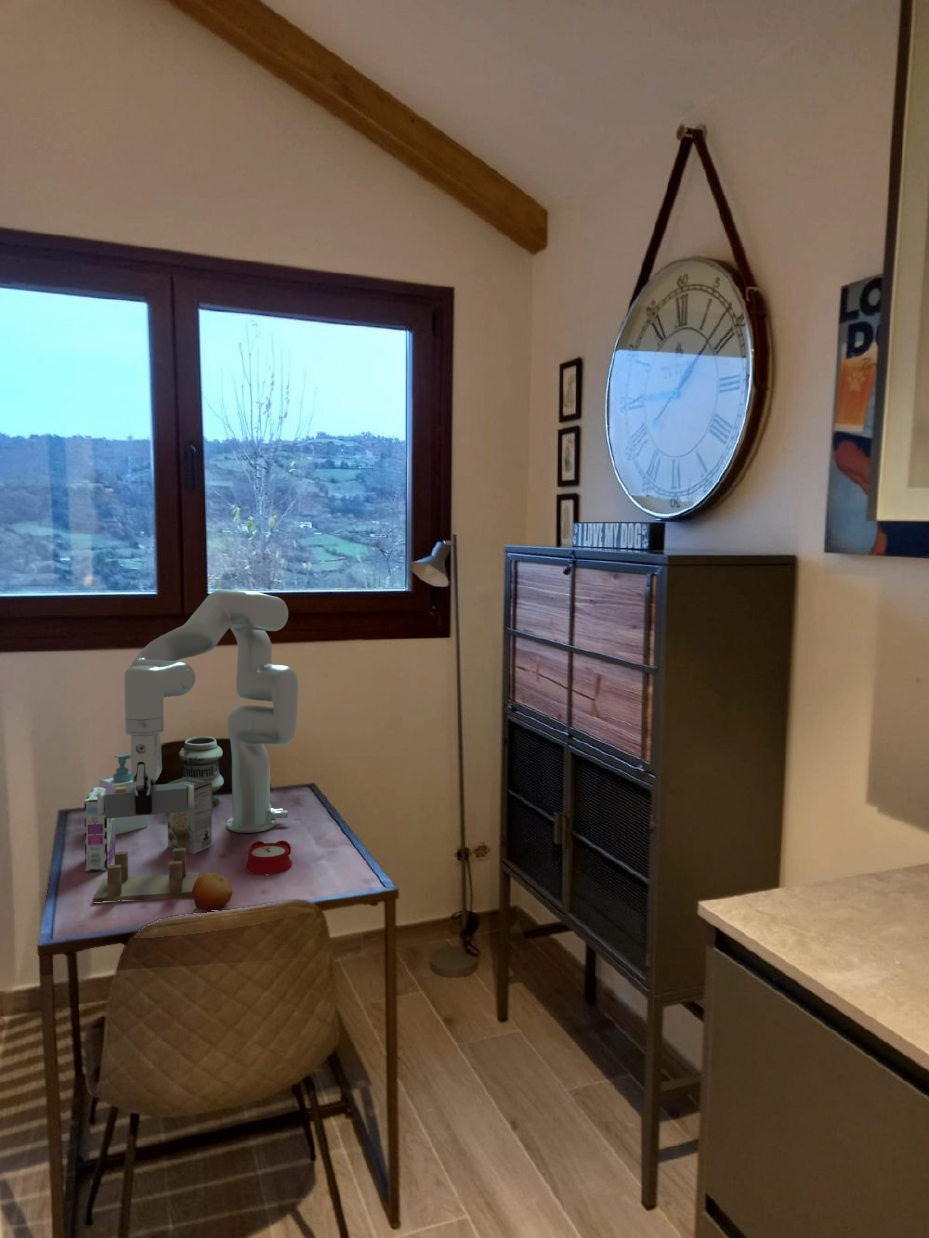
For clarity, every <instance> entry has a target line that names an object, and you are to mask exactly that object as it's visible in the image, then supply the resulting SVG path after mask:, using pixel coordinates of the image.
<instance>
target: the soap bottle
mask: <svg viewBox="0 0 929 1238" xmlns="http://www.w3.org/2000/svg"><path fill="white" fill-rule="evenodd" d="M113 757H114V758H118V759H117V760H118V761H117V762H118V764H119V766H118V767H117V768H116V769H115V771H116V772H115V773H113V775H109V776H105V777H99V779H98V785H99V786H98V787H115V788H116V787H136V782H133V781H132V778H131V771H130V770H129V767H128V766H126V765H125V764H126V763H127V760H130V759H131V752H129V753H123V754H118V755H113ZM144 779H145V778H144ZM145 828H148V815H142V816H131V817H119V818H115V836H117V835H120V834H125V833H128V832H129V833H130V832H132V831H137V830H140V829H145Z"/></svg>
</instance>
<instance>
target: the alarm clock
mask: <svg viewBox="0 0 929 1238" xmlns="http://www.w3.org/2000/svg"><path fill="white" fill-rule="evenodd" d="M291 853H292V847H291V844H290V843H289V842H288V841H286V840H278V841H277V842H266V843H265V842H264V841H261V840H257V841H255V842H253V843H252V844H251V845H250V846H249V849H248V850H247V860H246V862H245V864H244V869H245V870H246V872H249V873H251V874H255V875H264V876H265V875H266V874H269V875H275V874H279V873H284V872H285V871H286V870H289V869H290V868H291V867H292V866H293V865H292V864H293V863H292V860H291V858H290V855H291Z"/></svg>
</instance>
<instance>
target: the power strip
mask: <svg viewBox="0 0 929 1238" xmlns="http://www.w3.org/2000/svg"><path fill="white" fill-rule="evenodd" d="M146 787H147V786H146ZM135 793H136V787H116V788H112V789H106V792H105V793H104V792H99V793H98V795H97V813H98V816H105V817H106V819H108V818H119V817H131V816H142V815H147V816H150V815H152V816H153V815H161V814H162V815H163V814H168V813H175V812H186V811H187V786H186V783H175V784H167V783H165V784H164V783H163V784H155V785H150V795H152V813H151V814H140V815H137V814H136V813H135ZM188 808H194V785H188Z"/></svg>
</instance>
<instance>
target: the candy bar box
mask: <svg viewBox="0 0 929 1238" xmlns="http://www.w3.org/2000/svg"><path fill="white" fill-rule="evenodd" d="M112 788H115V787H99V786H98V787H92V790H91V791H90V793H89V794H88V795H87V796H86V798H85V799H84V805H83V806H84V810H83V811H84V861H85V862H84V865H85V867H84V869H85V870H84V871H85V872H87V873H89V872H103V871H104V872H106V871H107V868H108V866H109V865H111V863H112V860H113V859H114V854H115V852H116V835H115V818H108V819H106V817H105V816H98V813H97V795H98V793H99V792H104V793H105V792H106V789H112Z"/></svg>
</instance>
